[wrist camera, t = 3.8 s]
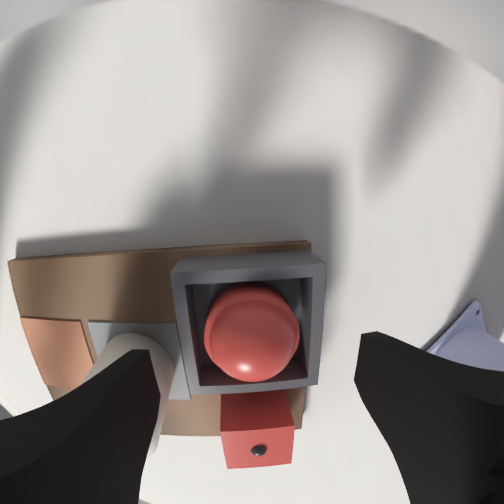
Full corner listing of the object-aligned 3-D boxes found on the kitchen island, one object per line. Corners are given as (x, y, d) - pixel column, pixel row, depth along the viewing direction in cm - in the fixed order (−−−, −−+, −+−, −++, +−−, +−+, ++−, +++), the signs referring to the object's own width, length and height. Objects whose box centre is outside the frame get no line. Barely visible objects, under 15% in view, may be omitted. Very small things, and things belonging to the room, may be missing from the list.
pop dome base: (308, 250, 13) (325, 263, 11) (305, 357, 14) (317, 384, 12) (180, 257, 12) (170, 272, 10) (194, 365, 14) (190, 394, 11)
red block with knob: (282, 383, 14) (296, 430, 11) (281, 422, 15) (292, 467, 11) (220, 387, 14) (220, 437, 11) (226, 427, 15) (227, 473, 11)
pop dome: (291, 277, 12) (313, 309, 9) (290, 352, 13) (307, 396, 10) (202, 283, 12) (193, 317, 9) (211, 358, 13) (207, 405, 9)
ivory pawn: (190, 373, 14) (178, 445, 9) (142, 401, 14) (121, 464, 9) (136, 319, 13) (98, 381, 8) (92, 354, 13) (53, 412, 8)
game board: (306, 240, 14) (311, 244, 13) (298, 420, 16) (301, 429, 15) (14, 258, 12) (6, 261, 12) (67, 413, 15) (63, 420, 14)
